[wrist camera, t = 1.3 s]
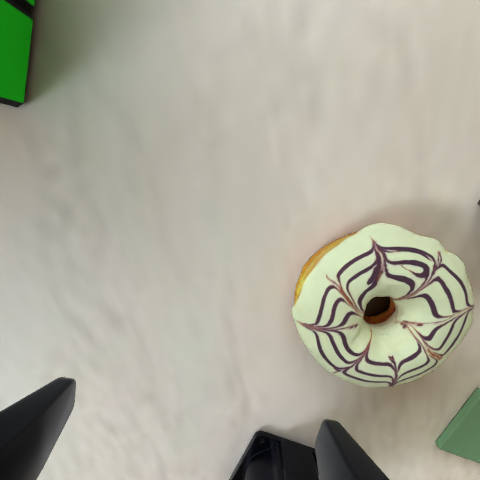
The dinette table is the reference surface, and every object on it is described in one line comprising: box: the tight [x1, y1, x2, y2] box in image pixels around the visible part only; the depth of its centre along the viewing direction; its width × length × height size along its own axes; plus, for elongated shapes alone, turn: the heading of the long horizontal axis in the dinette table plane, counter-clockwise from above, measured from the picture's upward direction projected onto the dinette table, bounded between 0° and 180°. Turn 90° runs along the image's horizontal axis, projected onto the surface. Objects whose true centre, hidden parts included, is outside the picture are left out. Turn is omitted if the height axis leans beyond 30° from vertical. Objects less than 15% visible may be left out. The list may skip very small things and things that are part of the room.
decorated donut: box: [292, 223, 474, 388], centre depth 19 cm, size 10×11×4 cm
